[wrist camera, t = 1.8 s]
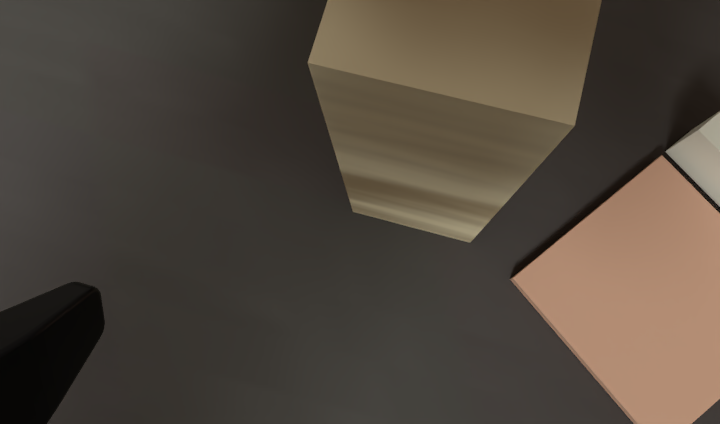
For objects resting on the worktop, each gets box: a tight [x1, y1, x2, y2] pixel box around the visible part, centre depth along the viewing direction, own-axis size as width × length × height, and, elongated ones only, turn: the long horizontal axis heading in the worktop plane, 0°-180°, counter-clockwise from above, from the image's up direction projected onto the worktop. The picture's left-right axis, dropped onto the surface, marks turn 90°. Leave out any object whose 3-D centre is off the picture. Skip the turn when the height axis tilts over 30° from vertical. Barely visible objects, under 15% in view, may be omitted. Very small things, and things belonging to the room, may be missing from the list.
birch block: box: [308, 0, 602, 243], centre depth 17 cm, size 5×5×13 cm
